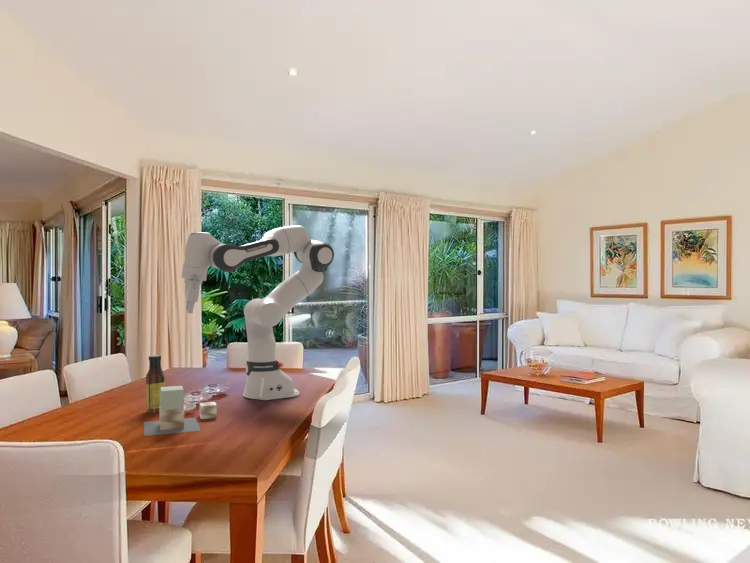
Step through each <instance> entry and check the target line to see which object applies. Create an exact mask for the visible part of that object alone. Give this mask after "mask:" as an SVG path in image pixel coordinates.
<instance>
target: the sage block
mask: <svg viewBox="0 0 750 563" xmlns="http://www.w3.org/2000/svg"><path fill="white" fill-rule="evenodd" d="M184 396H185V389H184V387H183V385H176V386H175V385H173V386H165V387H161V396H160V406H161V411H163V410H175V409H184V410H185V407H184V406H185V405H184V404H185V403H184V401H185V399H184Z"/></svg>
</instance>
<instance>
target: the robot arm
mask: <svg viewBox="0 0 750 563" xmlns="http://www.w3.org/2000/svg"><path fill="white" fill-rule="evenodd" d="M291 253H293V255H294V258H295V259H296V260H297V261H298V262H299V263H302V265H301V267H300V268H299V269H298V270H297V271H296V272H294V273H293V274H291V275H290V276H288V277H287V278H285V279H284V280H283V281H281V282H280V283H278V284H277V285H276V286H275V287H274V289H273V290H272V291H271V292H270V293H269V294H268V295H266V296H265V297H263V298H253V299H251V300H249V301H248V302H247V303H246V304H245V305H244V308H243V314H244V321H245V322H244V323H245V328H246V329H245V330H246V331H245V332H246V338H247V360H246V364H245V373H246V374H245V375H246V379H245V384H244V385H245V386H244V390H243V394H242V396H243V397H244V398H247V399H251V400H261V401H270V400H280V399H285V398H293V397H294V398H295V397H299V396H300V391H299V390H298V389H297V388H295V386H294V382H293V378H292V377H290V376H289V375H288V374H287V373H286V372H284V371H283V370H281V368H283V367H284V363H283V362H282V361H278V360H276V348H277V347H276V344H277V343H276V338H275V333H274V328H273V327H275V326H277V325H279V323H280V322H281V320H282V319H283V318H284V317H285V316H287V314H288V313H289V312H290V311H291V310H292V309H293V308H294V307H295V306H297V305H298V304H299V303H301V302H302V301H303V300H305V299H306V298H307V297H309V296H310V295H311V294H313V293H314V292H315V291H316V290H317V289H318V287H319V286H320V285H321V284H323V281H324V273H323V272H326V271H327V269H328V268H329V266H330V265H331V264H332V263H333V261H334V258H335V252H334V249H333V247H332V246H331V245H330V244H329V243H327V242H325V241H320V240H317V239H311V238H310V236H309V232H308V230H307V229H306V227H304V226H303V225H296V224H295V225H286V226H281V227H276V228H273V229H270V230H268V231H266V232H265V233H263V234H262V236H261V239H259V240H257V241H253V242H250V243H246V244H243V245H237V244H232V243H231V244H230V243H226V244H225V243H223V242H222V241H219V240H218V239H217V238H215V237H214V236H213V235H212V234H211V233H210V232H209V231H208V232H206V231H203V232H202V231H198V232H197V231H196V232H191V233H190V234H189V235H188V237H187V241H186V244H185V250H184V262H183V264H182V270H181V279H184V282H183V283H184V296H185V299H186V310H187V312H186V313H187V314H193V313H194V312H193V311H194V307H195V305H196V303H197V302H198V301H199V294H200V287H201V286H202V285H203V282H206V281H207V277H208V270H209V267H213V268H214V269H217V270H220V271H223V272H227V273H229V272H230V273H231V272H234V271H236V270H238V269H239V268H240V267H242V265H244V264H245V263H249V262H250V261H254V260H257V259H260V258H265V257H279V256H283V255H288V254H291Z"/></svg>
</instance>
